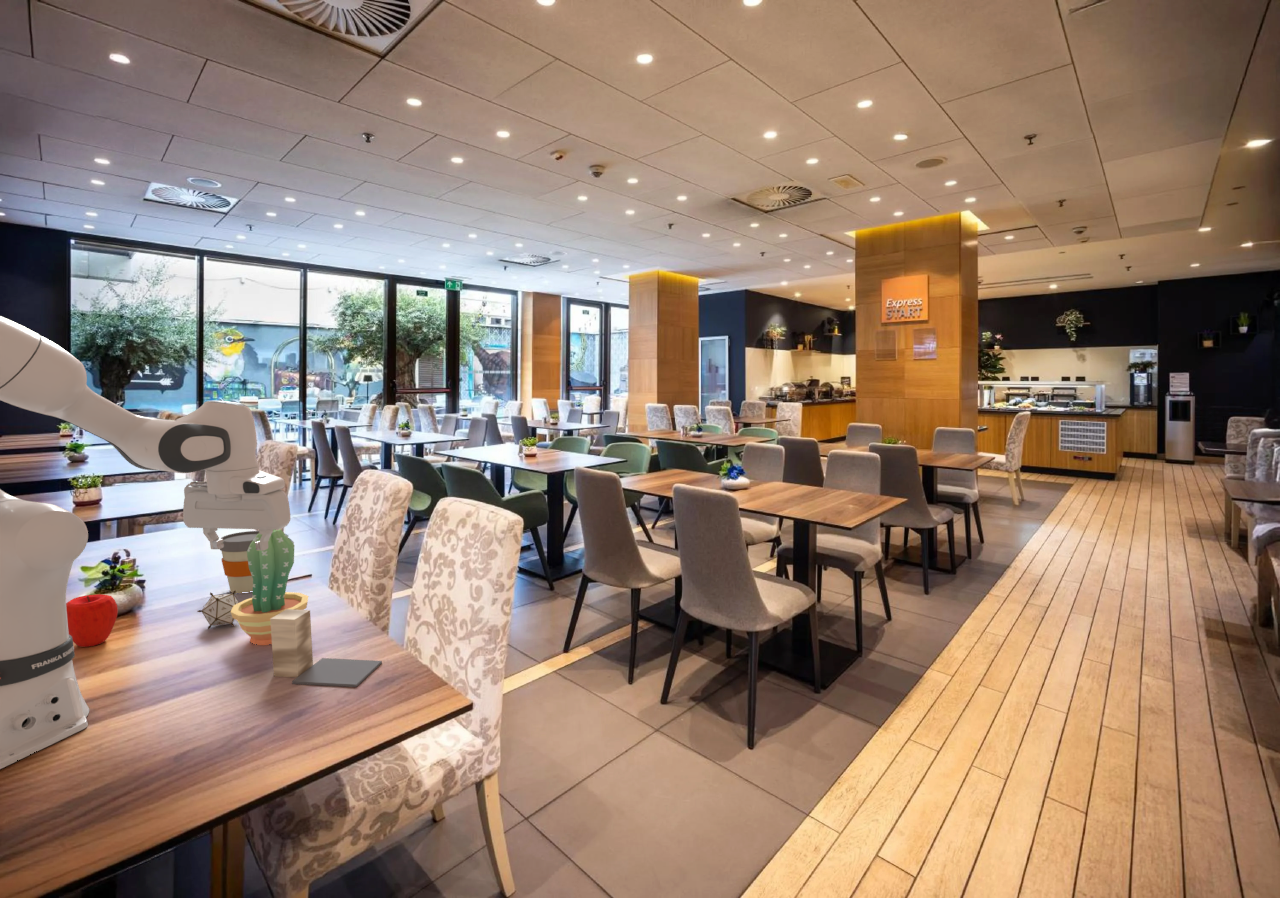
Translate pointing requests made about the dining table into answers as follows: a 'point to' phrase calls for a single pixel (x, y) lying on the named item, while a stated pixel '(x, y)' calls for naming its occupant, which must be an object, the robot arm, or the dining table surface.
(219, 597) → the game die
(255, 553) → the potted cactus
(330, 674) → the mat
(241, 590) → the reusable coffee cup
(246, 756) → the dining table surface
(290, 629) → the birch block
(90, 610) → the apple
